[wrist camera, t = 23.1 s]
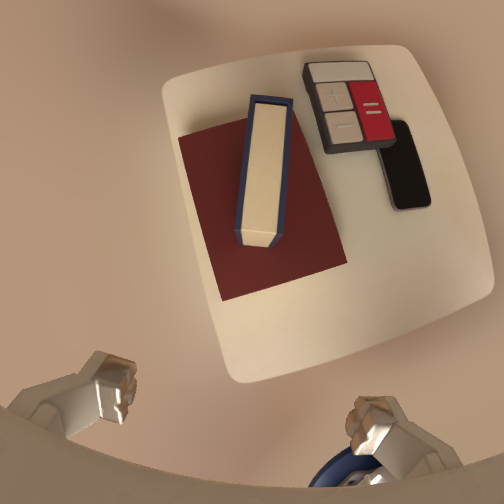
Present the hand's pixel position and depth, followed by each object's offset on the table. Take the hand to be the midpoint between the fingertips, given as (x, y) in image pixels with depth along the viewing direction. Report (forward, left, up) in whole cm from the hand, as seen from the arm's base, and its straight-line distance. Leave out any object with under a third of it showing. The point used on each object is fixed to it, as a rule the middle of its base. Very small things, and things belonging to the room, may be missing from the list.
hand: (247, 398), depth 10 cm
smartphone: (+32, -1, -31) cm, 45 cm away
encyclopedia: (+11, +9, -31) cm, 34 cm away
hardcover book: (+11, +9, -27) cm, 30 cm away
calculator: (+32, +11, -31) cm, 46 cm away
